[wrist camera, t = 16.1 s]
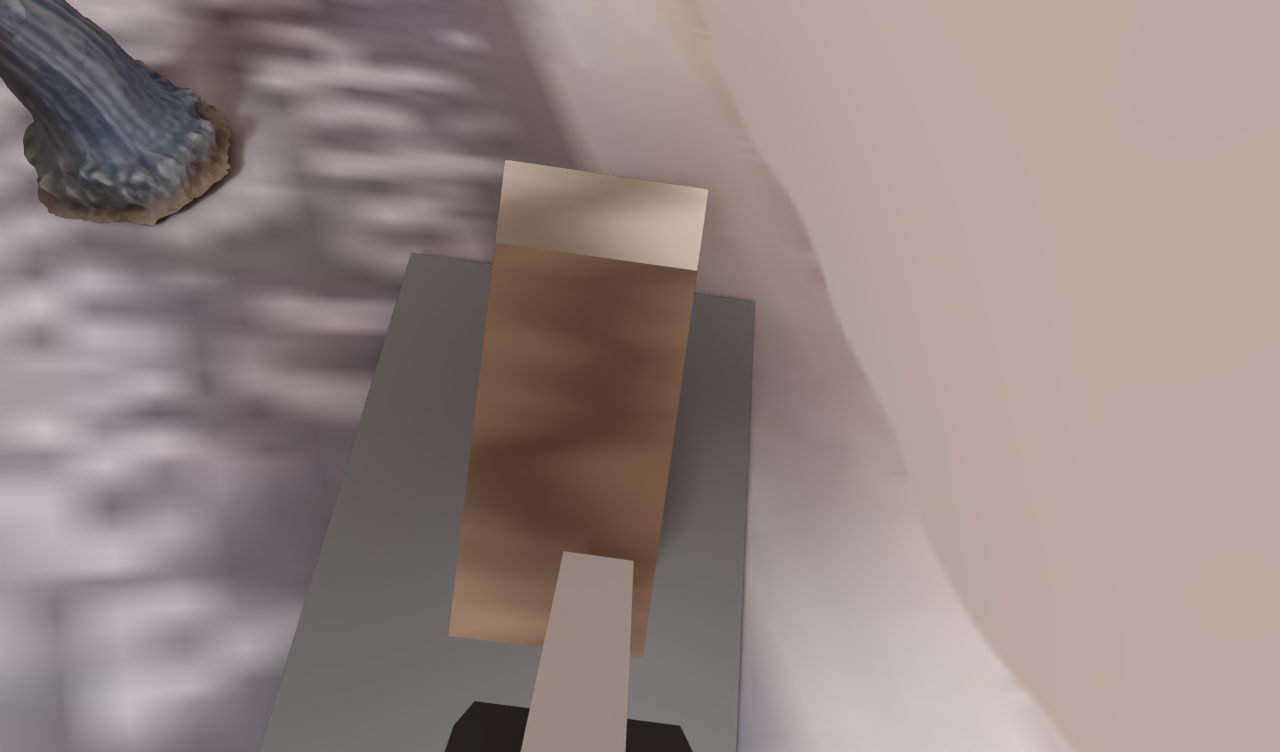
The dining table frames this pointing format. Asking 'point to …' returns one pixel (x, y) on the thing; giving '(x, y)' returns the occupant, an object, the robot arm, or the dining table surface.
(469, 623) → the walnut block
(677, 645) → the charcoal rubber mat
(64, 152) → the antler
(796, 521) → the dining table surface
